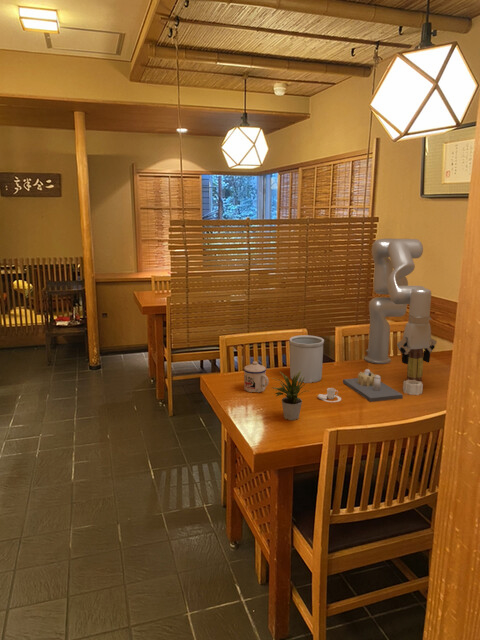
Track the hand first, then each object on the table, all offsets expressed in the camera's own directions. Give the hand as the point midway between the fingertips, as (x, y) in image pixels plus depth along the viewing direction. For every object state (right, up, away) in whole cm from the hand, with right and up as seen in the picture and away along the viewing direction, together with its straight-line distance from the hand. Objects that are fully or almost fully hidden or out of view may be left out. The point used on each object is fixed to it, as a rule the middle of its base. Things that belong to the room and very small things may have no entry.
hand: (415, 362), depth 181 cm
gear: (0, -12, +3) cm, 13 cm away
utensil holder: (-41, -9, +20) cm, 46 cm away
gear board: (-16, -12, +5) cm, 21 cm away
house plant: (-52, -17, -20) cm, 58 cm away
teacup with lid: (-63, -12, +5) cm, 64 cm away
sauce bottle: (+6, -9, +18) cm, 21 cm away
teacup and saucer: (-36, -14, -1) cm, 39 cm away
